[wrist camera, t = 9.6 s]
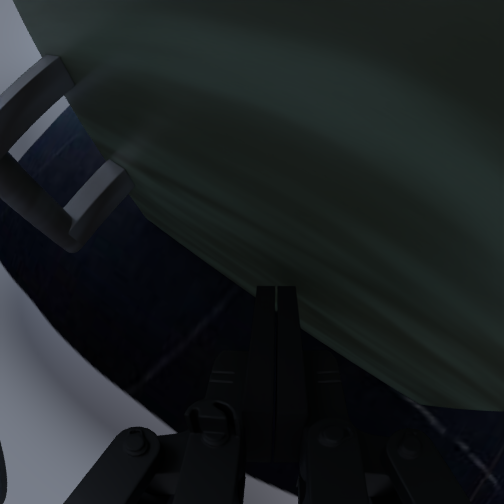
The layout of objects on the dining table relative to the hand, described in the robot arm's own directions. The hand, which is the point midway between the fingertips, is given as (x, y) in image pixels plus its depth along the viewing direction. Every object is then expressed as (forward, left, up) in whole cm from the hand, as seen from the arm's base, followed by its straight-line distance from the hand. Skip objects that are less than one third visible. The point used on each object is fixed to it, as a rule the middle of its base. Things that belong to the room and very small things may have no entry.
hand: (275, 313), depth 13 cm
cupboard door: (-1, +1, -8) cm, 8 cm away
